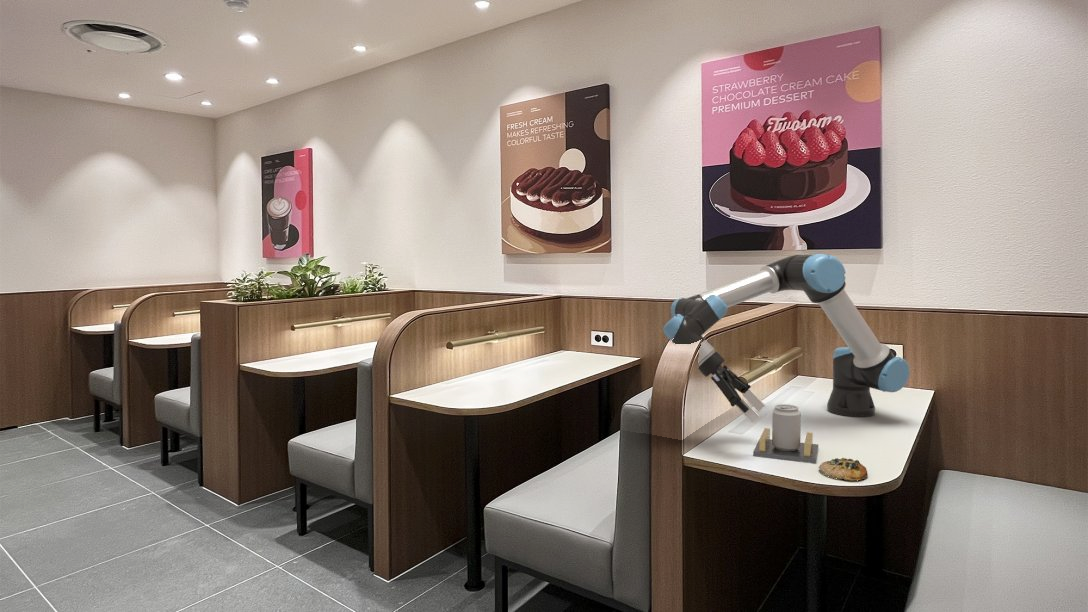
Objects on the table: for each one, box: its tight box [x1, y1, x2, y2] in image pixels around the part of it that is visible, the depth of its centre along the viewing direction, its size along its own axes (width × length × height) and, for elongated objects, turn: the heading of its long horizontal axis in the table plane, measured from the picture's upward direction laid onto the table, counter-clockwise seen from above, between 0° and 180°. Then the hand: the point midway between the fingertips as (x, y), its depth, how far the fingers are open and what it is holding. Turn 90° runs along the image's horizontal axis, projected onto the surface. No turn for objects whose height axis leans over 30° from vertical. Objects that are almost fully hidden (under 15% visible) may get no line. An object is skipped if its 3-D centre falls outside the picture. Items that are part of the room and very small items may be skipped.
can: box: [771, 404, 802, 451], centre depth 174 cm, size 8×8×12 cm
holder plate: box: [752, 427, 819, 464], centre depth 174 cm, size 16×14×5 cm
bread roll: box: [818, 457, 869, 482], centre depth 156 cm, size 11×11×5 cm
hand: (759, 414), depth 176 cm, fingers open, 13 cm apart
